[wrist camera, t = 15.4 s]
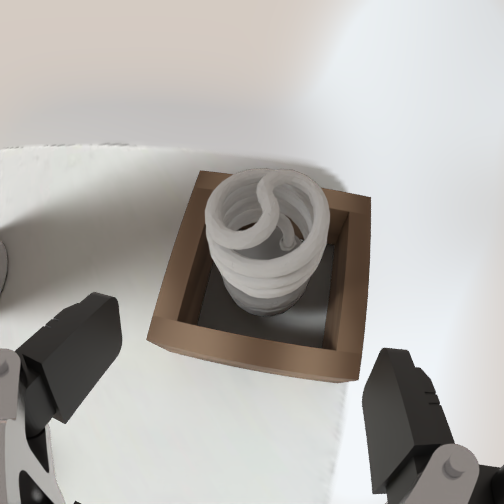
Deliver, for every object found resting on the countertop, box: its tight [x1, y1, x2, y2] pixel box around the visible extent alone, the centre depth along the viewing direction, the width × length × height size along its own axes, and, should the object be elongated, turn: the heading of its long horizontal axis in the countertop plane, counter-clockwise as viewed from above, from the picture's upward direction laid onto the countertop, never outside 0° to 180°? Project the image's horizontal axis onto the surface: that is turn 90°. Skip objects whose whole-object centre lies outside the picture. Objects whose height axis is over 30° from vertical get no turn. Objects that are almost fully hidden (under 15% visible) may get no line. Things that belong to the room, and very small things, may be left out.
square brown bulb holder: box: [146, 171, 371, 383], centre depth 21 cm, size 12×12×5 cm
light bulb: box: [205, 168, 330, 317], centre depth 18 cm, size 6×6×12 cm
